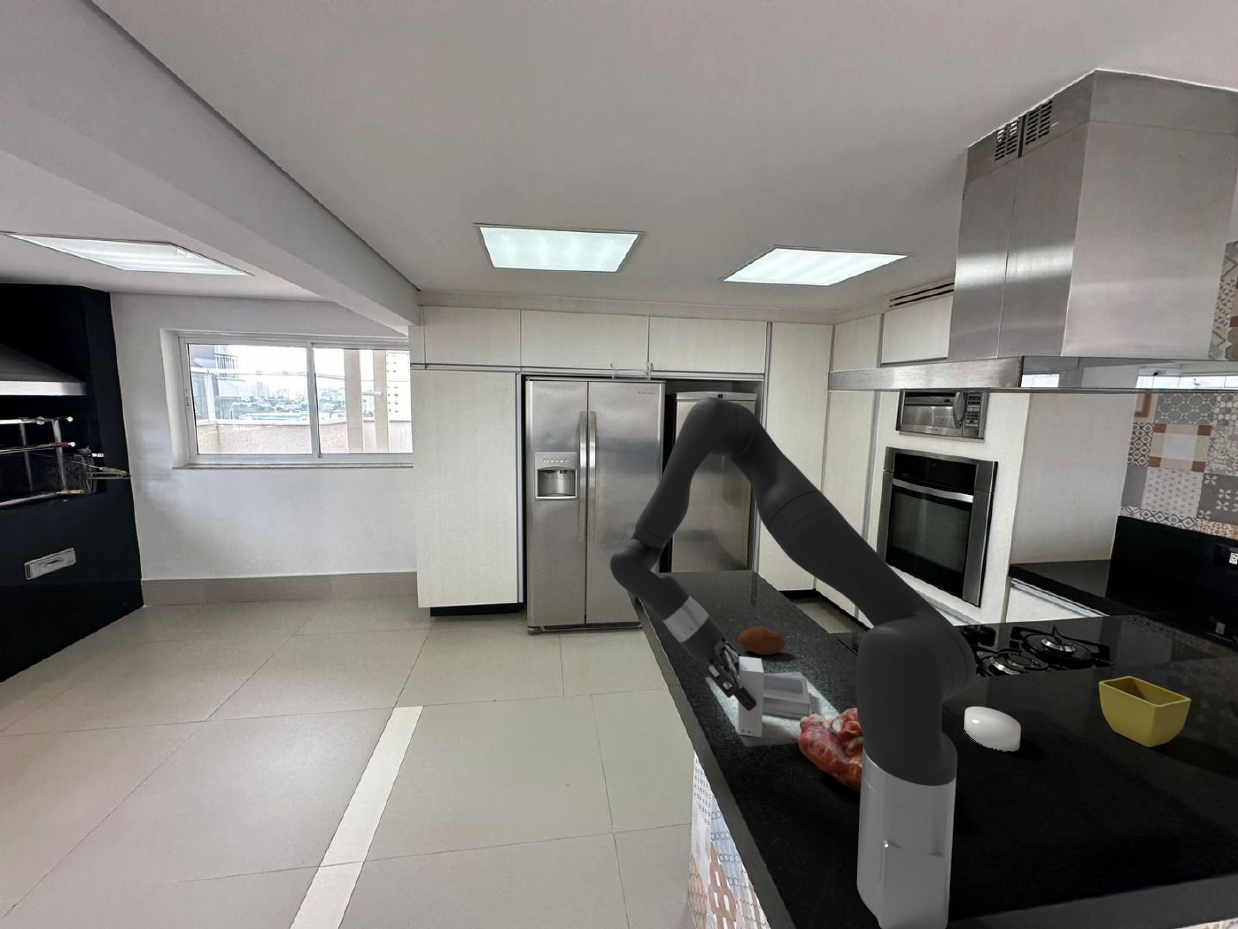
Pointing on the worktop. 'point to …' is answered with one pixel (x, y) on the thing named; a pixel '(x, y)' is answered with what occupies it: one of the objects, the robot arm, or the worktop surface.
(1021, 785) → the worktop surface
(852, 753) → the meat
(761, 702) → the skincare box
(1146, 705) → the flower pot
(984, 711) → the white domed puck
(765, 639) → the potato
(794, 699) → the tray
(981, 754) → the worktop surface
